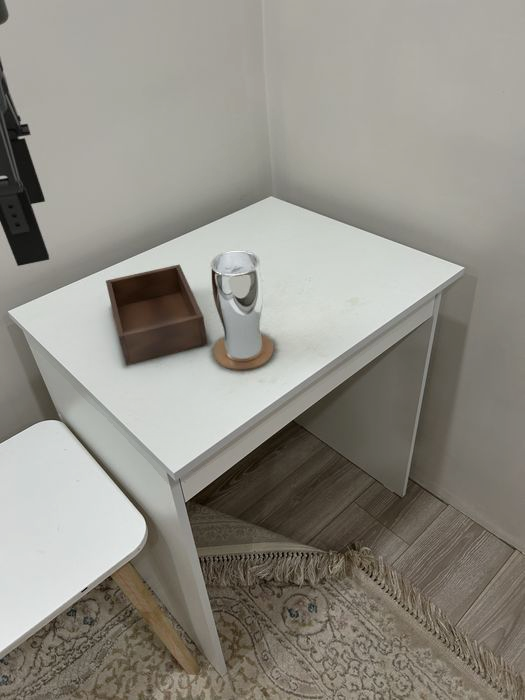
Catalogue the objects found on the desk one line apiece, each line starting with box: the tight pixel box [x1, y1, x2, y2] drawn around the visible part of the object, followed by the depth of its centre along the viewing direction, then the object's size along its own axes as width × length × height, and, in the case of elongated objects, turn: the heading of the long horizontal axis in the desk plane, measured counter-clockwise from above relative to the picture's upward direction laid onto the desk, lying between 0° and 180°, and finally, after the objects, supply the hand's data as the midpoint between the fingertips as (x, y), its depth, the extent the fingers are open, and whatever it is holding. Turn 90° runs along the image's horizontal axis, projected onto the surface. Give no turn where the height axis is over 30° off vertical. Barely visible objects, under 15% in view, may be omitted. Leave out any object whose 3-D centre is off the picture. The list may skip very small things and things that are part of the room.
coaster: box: [213, 332, 274, 372], centre depth 82 cm, size 9×9×1 cm
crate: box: [105, 264, 209, 366], centre depth 87 cm, size 13×17×5 cm
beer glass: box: [210, 249, 264, 362], centre depth 78 cm, size 7×7×15 cm
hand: (32, 229), depth 54 cm, fingers open, 13 cm apart
